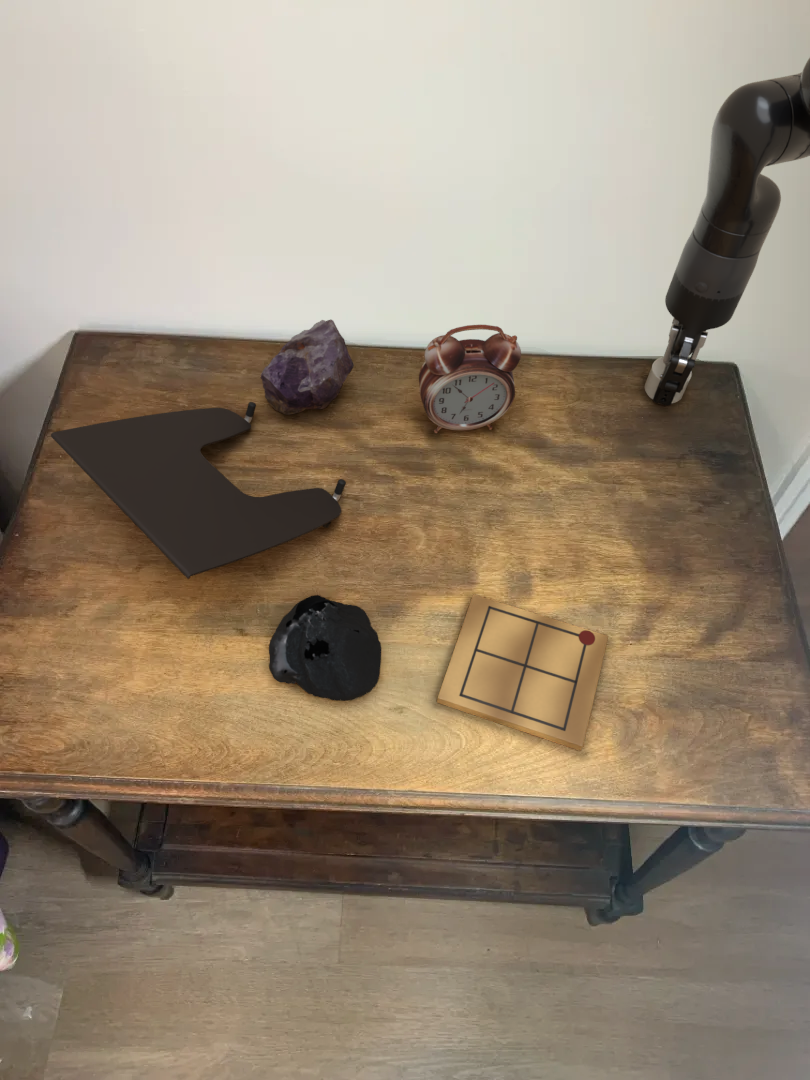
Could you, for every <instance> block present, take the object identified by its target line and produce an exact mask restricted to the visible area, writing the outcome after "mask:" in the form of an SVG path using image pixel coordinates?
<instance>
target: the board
mask: <svg viewBox="0 0 810 1080" xmlns="http://www.w3.org/2000/svg"><path fill="white" fill-rule="evenodd" d="M608 640H609V635H607V634H603V633H600V632H597V631H594V630H590V629H587V628H585V627H581V626H577V625H574V624H571V623H568V622H565V621H561V620H558V619H555V618H553V617H550V616H546V615H543V614H539V613H536V612H534V611H533V612H532V611H530V610H526V609H523V608H520V607H516V606H513V605H510V604H507V603H504V602H501V601H497V600H494V599H491V598H489V597H485V596H482V595H478V594H475V593H473V594H472V596H471V599H470V602H469V604H468V608H467V611H466V613H465V617H464V619H463V623H462V626H461V629H460V631H459V635H458V638H457V640H456V643H455V645H454V648H453V651H452V654H451V657H450V660H449V663H448V666H447V669H446V672H445V675H444V678H443V680H442V684H441V686H440V689H439V692H438V695H437V699H436V703H438V704H440V705H443V706H446V707H449V708H451V709H455V710H458V711H461V712H464V713H467V714H469V715H473V716H476V717H478V718H482V719H485V720H488V721H490V722H494V723H496V724H499V725H503V726H505V727H508V728H511V729H514V730H516V731H520V732H524V733H526V734H529V735H532V736H535V737H537V738H541V739H545V740H547V741H549V742H553V743H556V744H558V745H562V746H564V747H567V748H571V749H574V750H576V751H582V749H583V747H584V744H585V740H586V736H587V731H588V727H589V722H590V719H591V714H592V710H593V705H594V701H595V697H596V692H597V687H598V683H599V679H600V674H601V671H602V670H601V669H602V666H603V661H604V658H605V652H606V648H607V644H608Z"/></svg>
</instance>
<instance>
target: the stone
mask: <svg viewBox="0 0 810 1080" xmlns="http://www.w3.org/2000/svg"><path fill="white" fill-rule="evenodd" d="M663 359H664V356H661V357H658V358H656V359H655V360H654V361H653V363H652V365H651V367H650V370H649V373H648V374H647V378H646V380H645V383H644V391H645V393H646V395H647V396H648V397H649V398H650V399H651V400H653V398H654V394H655V392H656V389H657V387H658V384H659V382H660V379H661V378H660V375H661V374H662V373H663V370H664V367H665V364H664V362H663ZM692 371H693V370H692ZM692 371H691V373H690V375H689V377H688V378H687V380H686V382H685V384H684V387H683V390H681V392H680V393H678V392H676V394H675V396H674V398H673V401H672V403H671V405H673V404H675V403H678V402H679V401H681V399H682V398H683V396H684V395H685V392H686V390H687V387H688V386H689V383H690V381H691V379H692V376H693V373H692Z"/></svg>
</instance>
